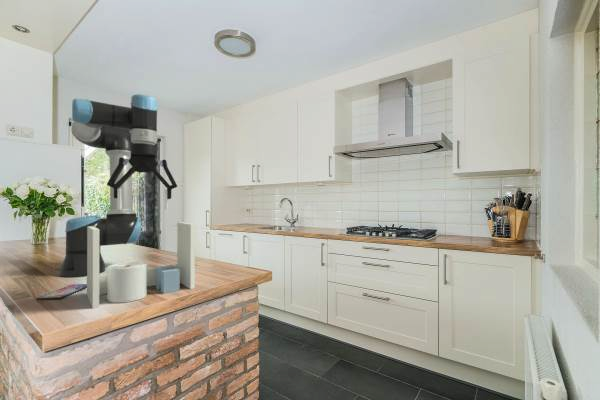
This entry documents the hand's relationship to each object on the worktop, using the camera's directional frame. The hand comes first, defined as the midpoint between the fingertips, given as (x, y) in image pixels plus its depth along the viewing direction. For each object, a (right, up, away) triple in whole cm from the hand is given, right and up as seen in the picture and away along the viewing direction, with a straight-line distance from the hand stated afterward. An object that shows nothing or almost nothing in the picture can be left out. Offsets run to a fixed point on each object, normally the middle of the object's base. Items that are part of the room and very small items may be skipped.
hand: (143, 209), depth 98 cm
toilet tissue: (-3, -28, -4) cm, 28 cm away
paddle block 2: (+8, -27, +1) cm, 29 cm away
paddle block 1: (+5, -27, +5) cm, 28 cm away
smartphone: (-25, -28, 0) cm, 37 cm away
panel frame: (0, -27, 0) cm, 27 cm away
